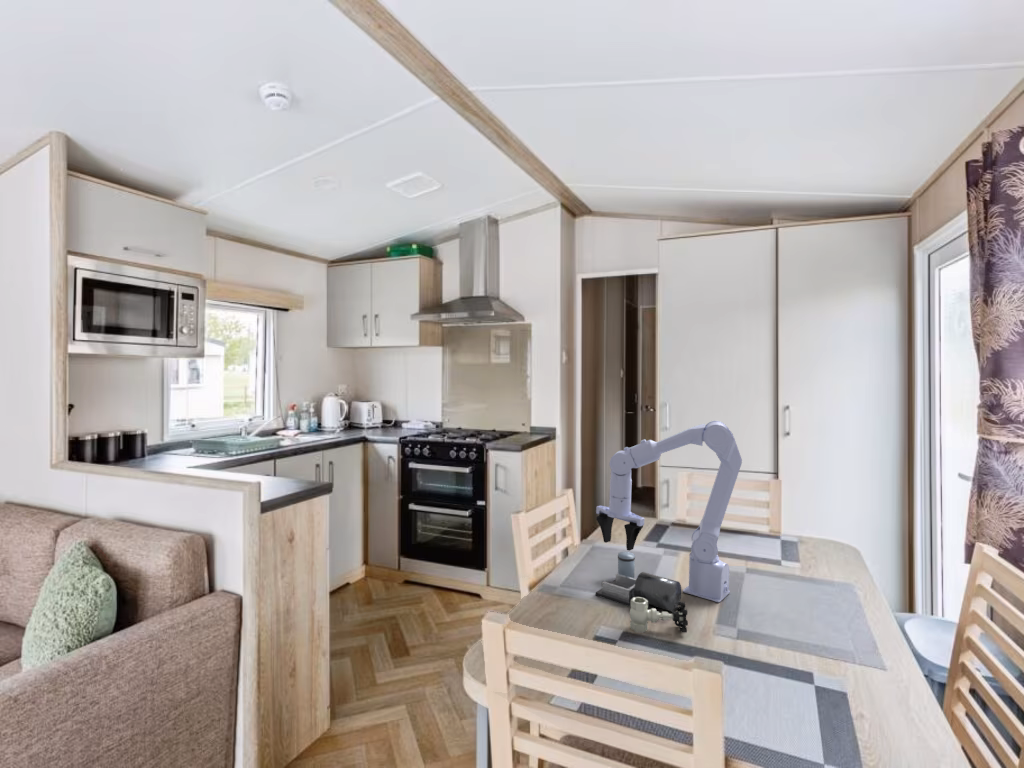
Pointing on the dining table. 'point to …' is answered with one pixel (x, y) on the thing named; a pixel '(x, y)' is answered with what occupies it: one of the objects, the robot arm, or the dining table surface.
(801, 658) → the dining table surface
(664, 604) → the motor
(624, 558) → the banded grey cylinder
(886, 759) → the dining table surface
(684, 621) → the valve
